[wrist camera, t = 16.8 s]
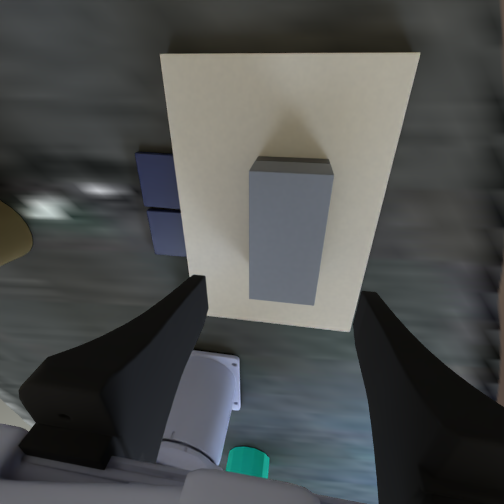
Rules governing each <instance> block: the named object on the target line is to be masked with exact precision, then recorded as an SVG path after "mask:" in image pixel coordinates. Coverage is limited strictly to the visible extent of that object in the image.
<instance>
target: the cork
mask: <svg viewBox="0 0 504 504" xmlns="http://www.w3.org/2000/svg"><path fill="white" fill-rule="evenodd" d="M32 244H33V242H32V235H31V232H30V230H29V228H28V226H27V224H26V223H25V222H24V220H23V219H22V218H21V216H20V215H19V214H17V213H16V212H15V211H14V210H13V209H12V208H11V207H9V206H8V205H6V204H4V203H3V202H1V201H0V266H1V265H4V264H6V263H8V262H10V261H12V260H15V259H17V258H19V257H21V256H23V255H25V254H27V253H28V252H29V251H30V250H31V247H32Z"/></svg>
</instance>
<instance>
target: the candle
mask: <svg viewBox="0 0 504 504" xmlns="http://www.w3.org/2000/svg"><path fill="white" fill-rule="evenodd" d="M269 460H270V458H269V457H268V456H267V455H266V454H265V453H264V452H262V451H260V450H258V449H255V448H250V447H245V446H243V447H235V448H233V449H232V450H230V451H229V456H228V461H227V466H226V471H229V472H234V473H239V474H245V475H250V476H255V477H261V478H266V479H268V470H269Z"/></svg>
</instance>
